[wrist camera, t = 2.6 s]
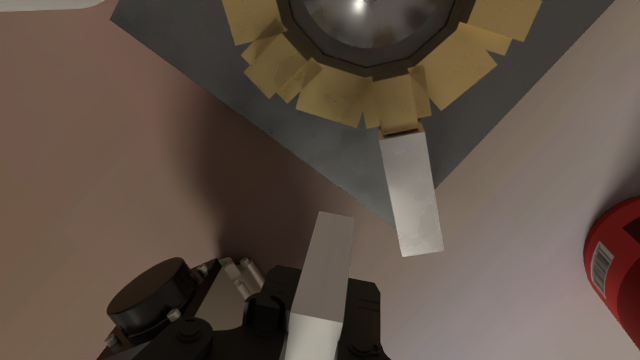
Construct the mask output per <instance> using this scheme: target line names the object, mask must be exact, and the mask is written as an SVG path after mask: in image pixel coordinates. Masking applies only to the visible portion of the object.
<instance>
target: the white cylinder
mask: <svg viewBox="0 0 640 360" xmlns="http://www.w3.org/2000/svg"><path fill="white" fill-rule="evenodd" d="M103 1H104V0H0V12H4V11H30V10H55V9H80V8H87V7H91V6H94V5H97V4H99V3H101V2H103Z"/></svg>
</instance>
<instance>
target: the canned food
mask: <svg viewBox="0 0 640 360" xmlns="http://www.w3.org/2000/svg"><path fill="white" fill-rule="evenodd" d="M583 256H584V265H585V270H586V273H587V277H588V280H589V282H590V283H591V285H592V287H593V289H594V290H595V291H596V293H597V294H598V295H599V297H600V298H601V299H602V301H603V302H604V303H605V305H606V306H607V307H608V309H609V310H610V311H611V313H612V314H613V315H614V317H615V318H616V319H617V321H618V322H619V323H620V325H621V326H622V327H623V329H624V330H625V331H626V333H627V334H628V335H629V337H630V338H631V339H632V341H633V342H634V343H635V345H636V346H637V347H638V349H639V350H640V196H638V197H634V198H631V199H628V200H626V201H624V202H622V203H620V204H617V205H616V206H614V207H613V208H611V209H610V210H608V211H607V212H606V213H605V214H604V215H603V216H602V217H601V218H599V219H598V220H597V222H596V223H595V224H594V226H593V227H592V229H591V230H590V232H589V234H588V236H587V239H586V241H585V246H584V250H583Z"/></svg>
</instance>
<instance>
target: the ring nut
mask: <svg viewBox="0 0 640 360" xmlns="http://www.w3.org/2000/svg"><path fill="white" fill-rule="evenodd" d="M222 2H223V6H224V9H225V12H226V16H227V19H228V23H229V26H230V29H231V33H232V36H233V40H234V43H235V46H236V45H240V44H244V43H248V42H252V41H254V42H253V43H252V44H251V45H250V46H249V47H248V48H247V49H246V50H245V51H244V52H243V53H242V54H241V56H242V57H243V58H244V59H245V60H246V61H247V62H248V63H249V64H250V66H249V67H248V68H247V69H246V70H245V71H244V72H243V73H244V74H245V75H246V76H247V77H248V78H249V79H250V80H251V81H252V82H253V83H254V84H255V85H256V86H257V87H258V88H259V89H260V90H261V91H262V92H263V93H264V94H265V95H266V96H267V97H268V98H269V99H270V98H271V97H272V96H273V95H274V94H275V93H277V94H278V95H279V96H280V97H281V98H282V99H283V100H284V101H285V102H286V103H288V102H289V101H291V100H292V99H293V98H294V97H295V96H296V95H297V94H298V93H299V92H300V95H299V98H298V102H297V105H296V109H297V110H301V111H304V112H307V113H310V114H313V115H316V116H319V117H323V118H326V119H329V120H332V121H335V122H338V123H342V124H345V125H348V126H351V127H354V128H357V126H358V123H359V120H360V117H361V114H362V111H363V114H364V119H365V124H366V128H367V129H368V128H373V127H378V133H379V144H380V149H381V154H382V159H383V164H384V169H385V174H386V179H387V184H388V189H389V194H390V199H391V203H392V208H393V213H394V218H395V223H396V228H397V233H398V238H399V243H400V248H401V253H402V257H406V256H412V255H419V254H426V253H433V252H439V251H444V247H443V240H442V234H441V228H440V222H439V216H438V210H437V204H436V198H435V191H434V185H433V179H432V173H431V167H430V161H429V155H428V149H427V143H426V136H425V131H424V129H423V126H422V123H421V121H420V118H423V117H428V116H432V115H431V108H430V102H429V98H430V99H431V100H432V101H433V102H434V103H435V104H436V106H437V107H438V108H439V109H440V110H441V111H442V110H443V109H444V108H446V107H447V106H448V105H449V104H450V103H452V102H453V101H454V100H455V99H457V98H458V97H459V96H460V95H461V94H463V93H464V92H465V91H466V90H468V89H469V88H470V87H471V86H472V85H474V84H475V83H476V82H477V81H479V80H480V79H481V78H482V77H483V76H485V75H486V74H487V73H488V72H490V71H491V70H492V69H493V68H495V67H496V66H497V64H496V62H495V61H494V60H493V59H492V57H491V56H490V55H489V54H488V52H487V51H486V50H488V51H491V52H495V53H498V54H501V55H504V56H505V54H506V52H507V49H508V47H509V45H510V43H511V40H512V39H515V40H518V41H522V42H524V40H525V38H526V36H527V34H528V32H529V29H530V27H531V25H532V23H533V21H534V18H535V16H536V14H537V12H538V10H539V7H540V5H541V3H542V1H541V0H456V2H455V4H454V7H453V9H452V12H451V15H450V17H449V20H448V22H447V25H446V27H444V28H443V29H442V30H441V31H440V32H439V33H438V34H437V35H435V36H434V37H433V38H432V39H431V40H430V41H429V42H428V43H426V44H425V45H424V46H423V47H422V48H421V49H420V50H419V51H417V52H416V53H415V54H414V55H413V56H412V57H411V58H409V59H405V60H401V61H396V62H392V63H387V64H383V65H379V66H374V67H370V68H363V67H360V66H357V65H353V64H350V63H347V62H344V61H341V60H338V59H334V58H331V57H328V56H325V55H323V54H322V53H321V52H320V50H319V49H318V48H317V47H316V46H315V45H314V44H313V43H312V42H311V40H310V39H309V38H308V37H307V36H306V35H305V34H304V33H303V32H302V31H301V29H300V28H299V27H298V26H297V25H296V24H295V23H294V22H293V19H292V15H291V11H290V7H289V3H288V0H222Z"/></svg>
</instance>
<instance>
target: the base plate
mask: <svg viewBox="0 0 640 360" xmlns="http://www.w3.org/2000/svg"><path fill="white" fill-rule="evenodd" d="M541 1H542V3H541V5H540V7H539V10H538V12H537V14H536V16H535V18H534V21H533V23H532V25H531V27H530V29H529V32H528V34H527V36H526V38H525V40H524V42H522V41H518V40H515V39H512V40H511V43H510V45H509V47H508V49H507V52H506V54H505V56H504V55H501V54H498V53H495V52H491V51H488V50H486V51H487V52H488V54H489V55H490V56H491V57H492V59H493V60H494V61H495V62H496V64H497V66H496V67H495V68H493V69H492V70H491V71H490V72H488V73H487V74H486V75H485V76H483V77H482V78H481V79H480V80H479V81H477V82H476V83H475V84H474V85H472V86H471V87H470V88H469V89H468V90H466V91H465V92H464V93H463V94H461V95H460V96H459V97H458V98H457V99H455V100H454V101H453V102H452V103H450V104H449V105H448V106H447V107H446V108H444V109H443V110H442V111H441V110H440V109H439V108H438V107H437V106H436V104H435V103H434V102H433V101H432V100H431V99H430V98H429V102H430V108H431V115H432V116H428V117H423V118H420V121H421V123H422V126H423V129H424V131H425V136H426V143H427V149H428V155H429V161H430V167H431V173H432V179H433V185H434V190H435V189H436V188H437V186H438V185H439V184H440V183H441V182H442V181H443V180H444V179H445V178H446V177H447V176H448V175H449V174H450V173H451V172H452V171H453V170H454V169H455V168H456V167H457V165H458V164H459V163H460V162H461V161H462V160H463V159H464V158H465V157H466V156H467V155H468V154H469V153H470V152H471V151H472V150H473V149H474V148H475V147H476V146H477V145H478V143H479V142H480V141H481V140H482V139H483V138H484V137H485V136H486V135H487V134H488V133H489V132H490V131H491V130H492V129H493V128H494V127H495V126H496V125H497V124H498V122H499V121H500V120H501V119H502V118H503V117H504V116H505V115H506V114H507V113H508V112H509V111H510V110H511V109H512V108H513V107H514V106H515V105H516V104H517V103H518V101H519V100H520V99H521V98H522V97H523V96H524V95H525V94H526V93H527V92H528V91H529V90H530V89H531V88H532V87H533V86H534V85H535V84H536V83H537V82H538V81H539V79H540V78H541V77H542V76H543V75H544V74H545V73H546V72H547V71H548V70H549V69H550V68H551V67H552V66H553V65H554V64H555V63H556V62H557V61H558V60H559V58H560V57H561V56H562V55H563V54H564V53H565V52H566V51H567V50H568V49H569V48H570V47H571V46H572V45H573V44H574V43H575V42H576V41H577V40H578V39H579V37H580V36H581V35H582V34H583V33H584V32H585V31H586V30H587V29H588V28H589V27H590V26H591V25H592V24H593V23H594V22H595V21H596V20H597V19H598V18H599V17H600V15H601V14H602V13H603V12H604V11H605V10H606V9H607V8H608V7H609V6H610V5H611V4H612V3H613V2H614V1H615V0H541ZM455 2H456V0H288V3H289V7H290V11H291V15H292V19H293V22H294V23H295V24H296V25H297V26H298V27H299V28H300V29H301V31H302V32H303V33H304V34H305V35H306V36H307V37H308V38H309V39H310V40H311V42H312V43H313V44H314V45H315V46H316V47H317V48H318V49H319V50H320V52H321V53H322V54H323V55H325V56H328V57H331V58H334V59H338V60H341V61H344V62H347V63H350V64H353V65H357V66H360V67H363V68H370V67H374V66H379V65H383V64H387V63H392V62H396V61H401V60H405V59H409V58H411V57H412V56H413V55H414V54H415V53H416V52H417V51H419V50H420V49H421V48H422V47H423V46H424V45H425V44H426V43H428V42H429V41H430V40H431V39H432V38H433V37H434V36H435V35H437V34H438V33H439V32H440V31H441V30H442V29H443V28H444V27H446V25H447V22H448V20H449V17H450V15H451V12H452V9H453V7H454V4H455ZM110 20H111V21H112V22H114V23H115V24H116V25H118V26H119V27H120V28H122V29H123V30H125V31H126V32H127V33H129V34H130V35H131V36H133V37H134V38H136V39H137V40H138V41H140V42H141V43H142V44H144V45H145V46H146V47H148V48H149V49H151V50H152V51H153V52H155V53H156V54H157V55H159V56H160V57H162V58H163V59H164V60H166V61H167V62H168V63H170V64H171V65H173V66H174V67H175V68H177V69H178V70H179V71H181V72H182V73H183V74H185V75H186V76H188V77H189V78H190V79H192V80H193V81H194V82H196V83H197V84H199V85H200V86H201V87H203V88H204V89H205V90H207V91H208V92H209V93H211V94H212V95H214V96H215V97H216V98H218V99H219V100H220V101H222V102H223V103H225V104H226V105H227V106H229V107H230V108H231V109H233V110H234V111H235V112H237V113H238V114H240V115H241V116H242V117H244V118H245V119H246V120H248V121H249V122H251V123H252V124H253V125H255V126H256V127H257V128H259V129H260V130H261V131H263V132H264V133H266V134H267V135H268V136H270V137H271V138H272V139H274V140H275V141H277V142H278V143H279V144H281V145H282V146H283V147H285V148H286V149H288V150H289V151H290V152H292V153H293V154H294V155H296V156H297V157H298V158H300V159H301V160H303V161H304V162H305V163H307V164H308V165H309V166H311V167H312V168H314V169H315V170H316V171H318V172H319V173H320V174H322V175H323V176H324V177H326V178H327V179H329V180H330V181H331V182H333V183H334V184H335V185H337V186H338V187H340V188H341V189H342V190H344V191H345V192H346V193H348V194H349V195H350V196H352V197H353V198H355V199H356V200H357V201H359V202H360V203H361V204H363V205H364V206H366V207H367V208H368V209H370V210H371V211H372V212H374V213H375V214H377V215H378V216H379V217H381V218H382V219H383V220H385V221H386V222H387V223H389V224H390V225H392V226H393V227H394V228H396V223H395V218H394V213H393V208H392V203H391V199H390V194H389V189H388V184H387V179H386V174H385V169H384V164H383V159H382V154H381V149H380V144H379V133H378V127H373V128H368V129H367V128H366V124H365V119H364V114H363V111H362V114H361V117H360V120H359V123H358V126H357V128H354V127H351V126H348V125H345V124H342V123H338V122H335V121H332V120H329V119H326V118H323V117H319V116H316V115H313V114H310V113H307V112H304V111H301V110H297V109H296V105H297V102H298V98H299V95H300V92H299V93H298V94H297V95H296V96H295V97H294V98H293V99H292V100H291V101H289V102H288V103H286V102H285V101H284V100H283V99H282V98H281V97H280V96H279V95H278V94H277V93H275V94H274V95H273V96H272V97H271V98H270V99H269V98H268V97H267V96H266V95H265V94H264V93H263V92H262V91H261V90H260V89H259V88H258V87H257V86H256V85H255V84H254V83H253V82H252V81H251V80H250V79H249V78H248V77H247V76H246V75H245V74H244V73H243V72H244V71H245V70H246V69H247V68H248V67H249V66H250V64H249V63H248V62H247V61H246V60H245V59H244V58H243V57H242V56H241V54H242V53H243V52H244V51H245V50H246V49H247V48H248V47H249V46H250V45H251V44H252V43H253V42H254V41H252V42H248V43H244V44H240V45H236V46H235V43H234V40H233V36H232V33H231V29H230V26H229V23H228V19H227V16H226V12H225V9H224V6H223V2H222V0H119V2H118V4H117V6H116V8H115V10H114V12H113V14H112V16H111V18H110ZM396 229H397V228H396Z"/></svg>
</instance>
